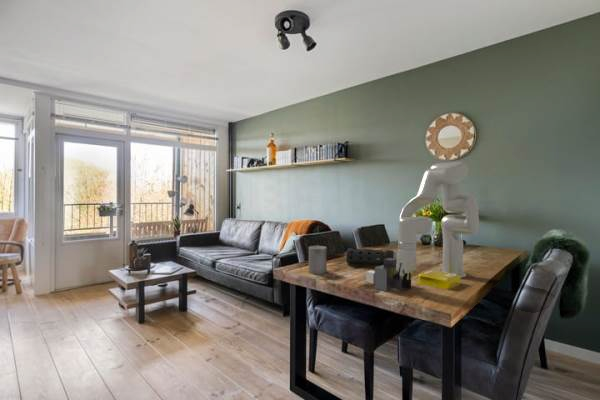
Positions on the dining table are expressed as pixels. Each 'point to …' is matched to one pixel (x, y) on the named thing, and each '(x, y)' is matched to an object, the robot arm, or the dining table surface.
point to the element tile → (439, 279)
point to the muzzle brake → (368, 257)
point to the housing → (386, 275)
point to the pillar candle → (317, 260)
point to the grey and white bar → (396, 281)
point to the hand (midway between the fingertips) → (406, 287)
